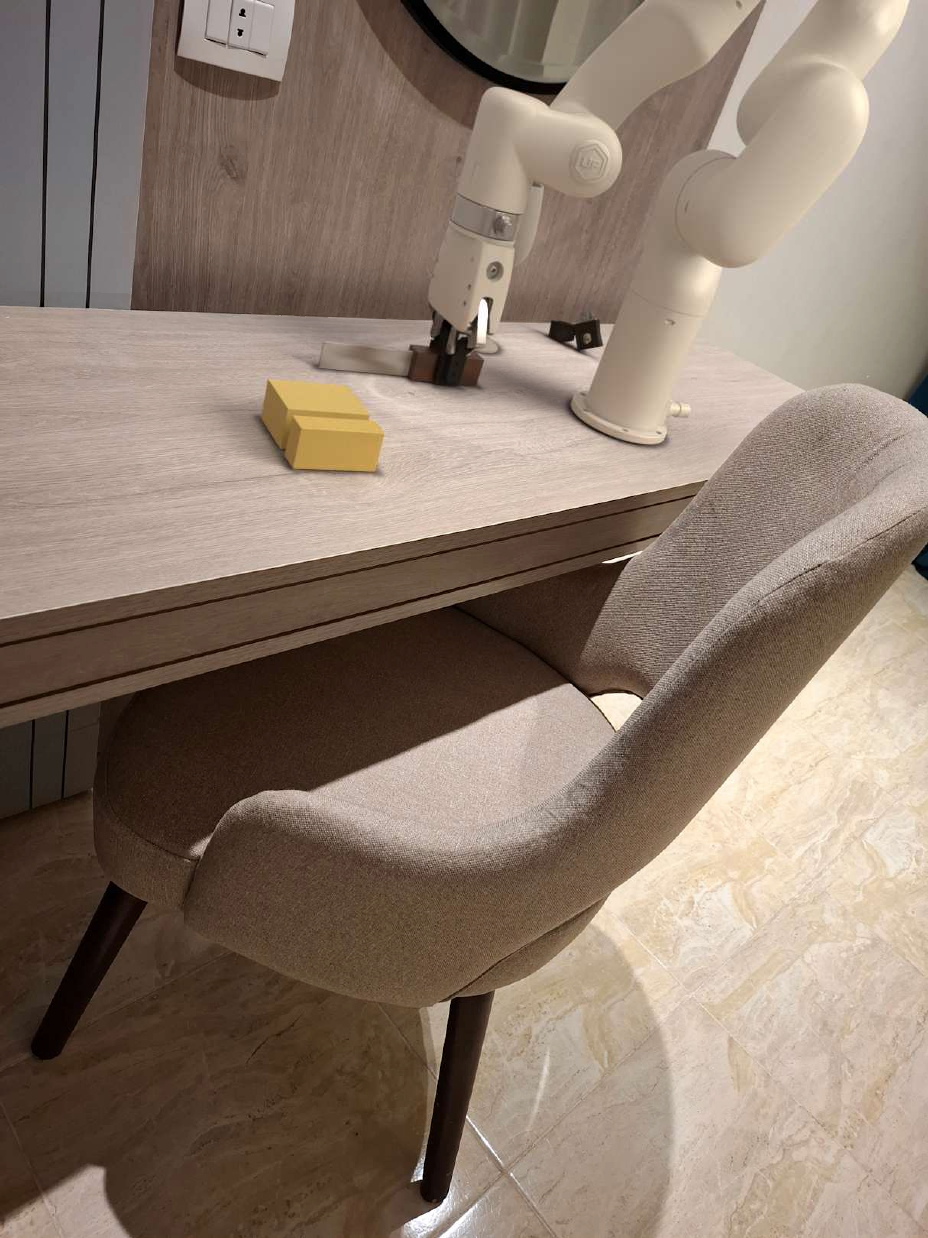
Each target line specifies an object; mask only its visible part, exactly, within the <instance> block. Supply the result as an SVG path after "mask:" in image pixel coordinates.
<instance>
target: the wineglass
mask: <svg viewBox="0 0 928 1238" xmlns="http://www.w3.org/2000/svg"><path fill="white" fill-rule="evenodd" d="M544 187H545V186H544V185H542V184H541V183H540V182H538V181H536V180H534V181H533V184H532V188H531V191H530V194H529V197H528V201H527V204H526V207H525V211H524V213H523V217H522V220H521V224H520V227H519V230H518V234H517V237H516V240H515V243H514V245H513V247H514V248H515V252H514V261H513V268H512V269H514V268H516V267H517V266H519V265H520V264H522V262H523V261H525V259H526V258H528V256H529V254H530V252H531V250H532V248H533V245H534V242H535V239H536V235H537V231H538V226H539V221H540V217H541V210H542V204H543V197H544V190H545V189H544ZM466 336H467V335H464V334H459V338H458V340H459V339H460V338H461V337H466ZM498 349H499V347H498V345H497V343H496V342H495V341H494V340H492V339H490V338H489V337H486V344H485V347H484V348H481V349H474V350H473V351H474V352H476V353H483V354H494V353H496V352H498Z"/></svg>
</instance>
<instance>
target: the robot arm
mask: <svg viewBox="0 0 928 1238" xmlns="http://www.w3.org/2000/svg"><path fill="white" fill-rule="evenodd" d="M761 1H762V0H644V1H643V2H642V3H640V5H639V6H638V7H637V8H635V10H633V12H631V13H630V15H628V16H627V17H626V18H625V19H624V21H623V22H622V23H621V24H620V25H619V26H618V27H617V28H616V29H615V30H614V31H613V32H612V33H611V34H610V35H609V36H608V37H607V38H606V39H605V40H604V41H603V42H602V43H601V44H600V45H599V46H598V47H597V48H596V49H595V50H594V51H593V52H592V53H591V54H590V55H589V56H588V57H587V58H586V60H584V62H583V63H582V64H581V66H579V68H578V69H577V71H575V73H574V74H573V75H572V76H571V78H570V79H569V80H568V82H567V83H566V84H565V85H564V87H563V88H562V89H561V90H560V91H559V93H558V94H557V96H556V97H555V98H554V99H553V101H552V102H551V103H550V105H547V104H546V103H545V102H543V101H542V100H540V99H538V98H535V97H533V96H531V95H529V94H526V93H522V92H520V91H516V90H514V89H510V88H507V87H501V86H492V87H489V88H487V90H485V92H484V93H483V94H482V97H481V98H480V99H481V100H480V103H479V106H478V108H477V109H478V110H477V112H476V115H475V116H476V117H475V119H474V124H473V128H472V132H471V135H470V138H469V144H468V147H467V151H466V155H465V158H464V161H463V167H462V170H461V173H460V178H459V182H458V185H457V190H456V193H455V196H454V201H453V204H452V208H451V212H450V215H449V219H448V227H447V229H446V232H445V234H444V237H443V239H442V243H441V246H440V247H439V248H440V249H439V251H438V255H437V257H436V261H435V264H434V267H433V271H432V275H431V278H430V283H429V287H428V293H427V299H428V307H429V309H430V312H431V319H432V325H431V328H430V332H429V337H430V341H429V344H428V346H430V347H439V348H446V351H443V350H442V353H441V357H440V360H439V364H438V367H437V371H436V375H435V378H434V382H433V383H434V384H435V385H437V386H445V387H459V386H460V385H459V383H460V380H461V376H462V373H463V370H464V366H465V363H466V359H467V356H468V357H469V356H470V355H471V353H472V351H473V350H474V349H481V348H484V347H485V344H486V338H487V336H494V335H495V334H496V333H497V331H498V328H499V326H500V322H501V319H502V314H503V311H504V307H505V304H506V300H507V296H508V291H509V289H510V283H511V279H512V273H513V269H514V268H513V261H514V252H515V248H514V247H513V245H514V243H515V240H516V237H517V234H518V230H519V227H520V224H521V220H522V217H523V213H524V211H525V207H526V204H527V201H528V197H529V194H530V191H531V188H532V184H533V181H536V182H538V183H542V184H544V185H545V186H548V187H550V188H552V189H554V190H556V191H558V192H561V193H562V194H565V195H567V196H570V197H572V198H577V199H589V198H590V199H591V198H594V197H598V196H599V195H602V194H603V193H605V192H606V191H607V190H609V189H610V188H611V187H612V185H613V184H614V183H615V182H616V180H617V178H618V176H619V175H620V172H621V169H622V165H623V149H622V145H621V142H620V140H619V137H618V135H617V133H616V131H617V129H618V128H619V127H620V126H621V125H622V124H623V122H625V120H626V119H627V118H628V117H629V116H630V115H631V114H632V112H634V111H635V110H636V109H637V108H638V107H639V106H640V105H641V104H643V102H645V101H646V100H647V99H649V97H651V96H652V95H654V94H655V93H656V92H658V91H659V90H661V89H663V88H664V87H666V86H668V85H671V84H673V83H675V82H677V81H679V80H682V79H684V78H686V77H688V76H690V75H692V74H693V73H695V72H696V71H698V70H699V69H701V68H703V67H704V66H705V65H707V64H708V63H709V62H710V61H711V60H712V59H713V58H714V57H715V55H716V54H718V52H719V51H720V50H721V48H722V47H723V46H724V45H725V43H727V41H728V40H729V39H730V38H731V36H732V35H733V34H734V33H735V32H736V30H737V29H738V28H739V27H740V26H741V25H742V23H744V21H745V20H746V19H747V17H749V15H750V13H751V12H753V10H754V9H755V8H756V7H757V5H758V4H759V3H760V2H761ZM909 2H910V0H817V1H816V2H815V4H814V5H813V6H812V8H811V9H810V10H809V12H808V13H807V15H806V16H805V18H804V19H803V20H802V21H801V23H800V24H799V25H798V26H797V27H796V29H795V30H794V31H793V33H792V34H791V35H790V36H789V38H788V39H787V40H786V41H785V42H784V44H783V45H782V46H781V47H780V49H778V51H777V52H776V53H775V55H774V56H773V57H772V58H771V59H770V61H769V62H768V63H767V64H766V65H765V67H764V68H763V69H761V71H760V72H759V74H757V76H756V78H755V79H754V80H753V81H752V82H751V84H750V85H749V87H748V88H747V90H746V91H745V93H744V94H743V96H742V98H741V100H740V102H739V105H738V108H737V111H736V122H735V123H736V130H737V133H738V136H739V138H740V140H741V141H742V143H743V144H744V146H745V147H744V149H743V150H742V151H741V152H740V154H738V156H735V155H733V154H731V153H729V152H727V151H723V150H720V149H714V148H712V149H700V150H697V151H694V152H691V153H689V154H687V155H686V156H684V157H683V158H682V159H679V161H678V162H677V163H675V164H674V166H673V167H672V168H671V170H670V171H669V172H668V173H667V174H666V176H665V178H664V180H663V182H662V183H661V186H660V188H659V191H658V194H657V197H656V200H655V204H654V207H653V211H652V215H651V220H650V223H649V229H648V231H647V236H646V238H645V242H644V246H643V249H642V252H641V254H640V257H639V260H638V262H637V266H636V268H635V270H634V273H633V276H632V279H631V281H630V284H629V286H628V288H627V290H626V293H625V296H624V299H623V301H622V304H621V306H620V309H619V311H618V314H617V316H616V319H615V322H614V324H613V326H612V329H611V332H610V335H609V337H608V339H607V342H606V344H605V348H604V350H603V353H602V355H601V358H600V361H599V362H598V365H597V368H596V371H595V373H594V375H593V379H592V381H591V384H590V386H589V389H588V390H583V391H578V392H576V393H575V394H574V395H573V396H572V398H571V401H570V408H571V410H572V412H573V413H574V414H575V415H576V416H577V417H578V418H579V419H580V420H581V421H583V422H584V423H586V424H587V425H589V427H592V428H593V429H595V430H597V431H599V432H602V433H604V434H606V435H608V436H610V437H613V438H615V439H619V440H621V441H625V442H629V443H634V444H640V445H657V444H660V443H662V442H664V440H665V439H666V437H667V433H668V428H667V426H666V424H665V421H666V419H670V418H671V417H673V418H679V419H686V418H688V417H690V415H691V411H692V408H691V404H690V403H688V402H683V401H682V402H681V401H675V402H674V400H673V399H672V398H671V394H672V393H673V392H672V391H673V389H674V387H675V385H676V383H677V381H678V378H679V375H680V374H681V371H682V369H683V367H684V364H685V362H686V360H687V358H688V356H689V353H690V351H691V349H692V347H693V344H694V341H695V339H696V338H697V335H698V333H699V330H700V328H701V326H702V323H703V321H704V319H705V317H706V316H707V313H708V312H709V309H710V306H711V304H712V302H713V299H714V297H715V294H716V292H717V289H718V286H719V283H720V281H721V276H722V272H723V269H724V268H727V269H737V268H738V269H739V268H743V267H746V266H749V265H751V264H753V263H755V262H757V261H758V260H760V259H761V258H763V257H764V256H765V255H767V254H768V253H769V252H771V250H772V249H773V248H775V247H776V246H777V245H778V244H779V243H780V242H781V241H782V239H783V238H785V236H786V235H787V234H788V233H789V232H790V231H791V230H792V229H793V228H794V226H795V225H796V224H797V223H798V222H799V221H800V220H801V218H803V216H805V214H806V213H808V211H809V210H810V208H812V206H813V205H814V204H815V203H816V202H817V201H818V200H819V198H821V196H822V195H823V194H824V193H825V192H826V191H827V190H828V188H829V187H830V186H831V185H832V184H833V183H834V182H835V180H837V178H838V177H839V176H840V175H841V174H842V172H843V171H844V170H845V169H846V168H847V166H848V165H849V163H851V161H852V160H853V158H854V156H855V155H856V153H857V151H858V149H859V147H860V146H861V144H862V141H863V140H864V136H865V134H866V131H867V128H868V124H869V119H870V101H869V95H868V92H867V90H866V88H865V86H864V84H863V82H862V81H863V80H864V79H865V78H866V77H867V75H868V73H869V72H870V71H871V70H872V68H873V67H874V66H875V65H876V63H877V62H878V61H879V60H880V58H881V57H882V55H883V54H884V53H885V52H886V50H887V49H888V48H889V46H890V45H891V44H892V42H893V40H894V38H895V37H896V35H897V33H898V32H899V30H900V27H902V23H903V21H904V19H905V16H906V13H907V11H908V6H909ZM459 334H464V335H467V336H466V337H461V338H460V339H459V340H458V338H459Z"/></svg>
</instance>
